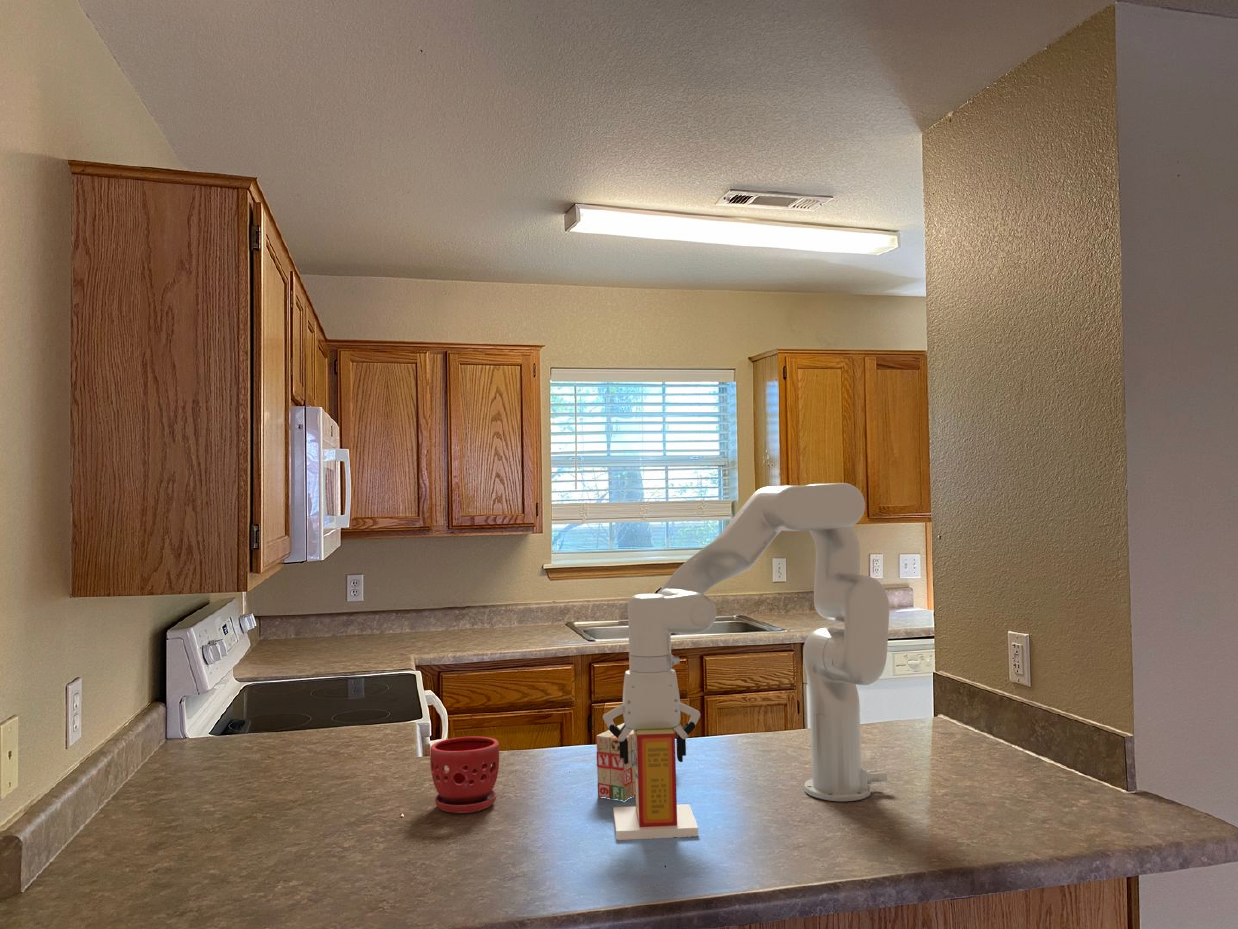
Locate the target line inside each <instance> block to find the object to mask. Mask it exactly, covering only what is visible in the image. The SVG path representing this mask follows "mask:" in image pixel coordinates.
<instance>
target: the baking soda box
mask: <svg viewBox="0 0 1238 929" xmlns="http://www.w3.org/2000/svg"><path fill="white" fill-rule="evenodd" d="M676 758H677V757H676V733H675V730H674V729H648V730H634V759H635V797H634V798H635V799H634V800H635V806H636V812H637V817H638V822H639V827H658V826H677V805H678V803H677V802H678V800H677V798H678V797H677V796H678V795H677V765H676V762H677V760H676Z"/></svg>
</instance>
